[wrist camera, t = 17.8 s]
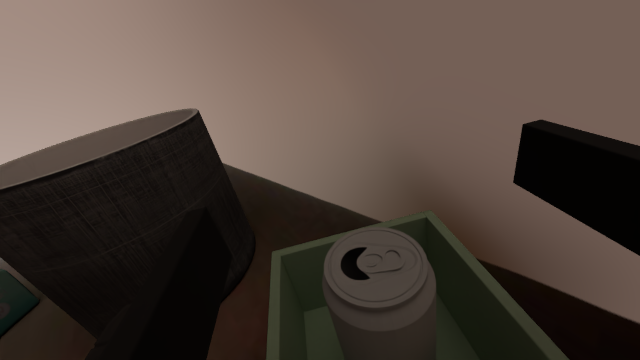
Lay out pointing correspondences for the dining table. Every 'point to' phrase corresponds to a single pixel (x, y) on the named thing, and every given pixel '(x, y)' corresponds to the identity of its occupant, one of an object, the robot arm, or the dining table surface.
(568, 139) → the robot arm
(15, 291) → the box
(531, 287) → the dining table surface
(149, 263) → the planter
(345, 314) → the beverage can
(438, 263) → the waste bin
